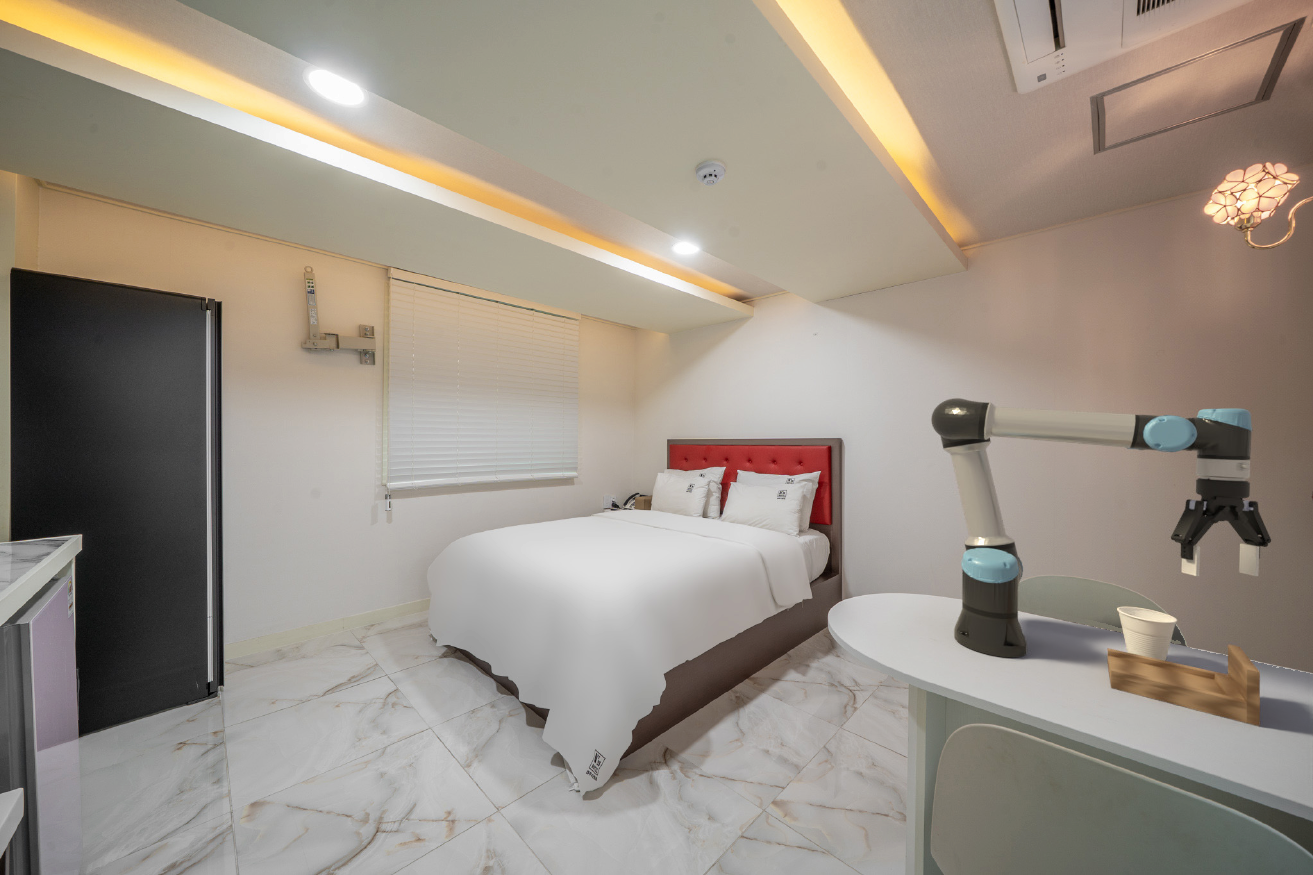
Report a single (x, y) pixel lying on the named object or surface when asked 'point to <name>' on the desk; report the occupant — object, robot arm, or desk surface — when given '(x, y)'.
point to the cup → (1147, 631)
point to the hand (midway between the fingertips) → (1219, 574)
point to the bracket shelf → (1191, 683)
